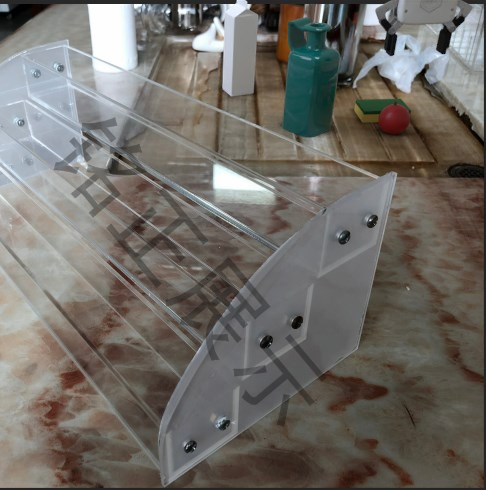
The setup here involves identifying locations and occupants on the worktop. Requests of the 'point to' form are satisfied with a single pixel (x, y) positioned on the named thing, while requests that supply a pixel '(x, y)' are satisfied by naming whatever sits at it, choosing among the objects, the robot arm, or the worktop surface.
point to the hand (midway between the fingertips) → (415, 53)
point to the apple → (394, 119)
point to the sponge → (374, 108)
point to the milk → (239, 49)
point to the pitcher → (310, 79)
